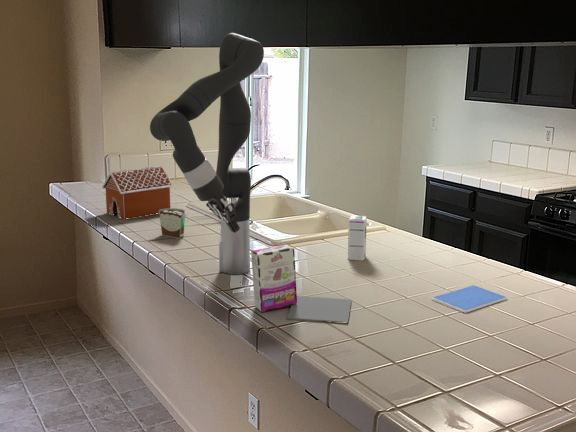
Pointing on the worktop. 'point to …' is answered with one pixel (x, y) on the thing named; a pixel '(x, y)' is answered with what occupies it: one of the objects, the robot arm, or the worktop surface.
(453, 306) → the tablet computer
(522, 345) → the worktop surface
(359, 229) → the syrup box
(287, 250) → the candy bar box
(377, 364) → the worktop surface
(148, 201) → the gingerbread house
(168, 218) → the food container
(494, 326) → the worktop surface
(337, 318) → the mat
